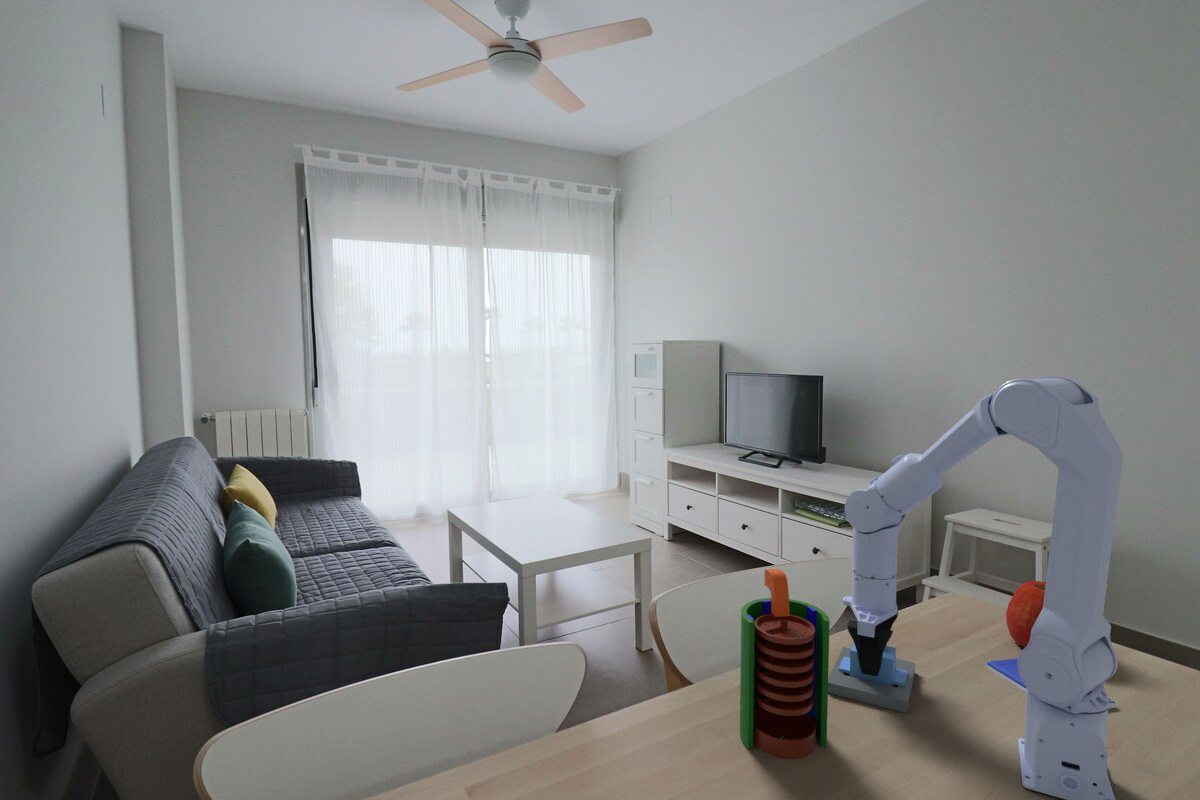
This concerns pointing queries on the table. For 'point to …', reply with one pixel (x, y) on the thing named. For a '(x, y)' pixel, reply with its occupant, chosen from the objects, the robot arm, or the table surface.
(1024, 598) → the apple
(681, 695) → the table surface
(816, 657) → the motor
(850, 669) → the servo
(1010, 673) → the hard drive
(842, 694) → the grey flat frame
